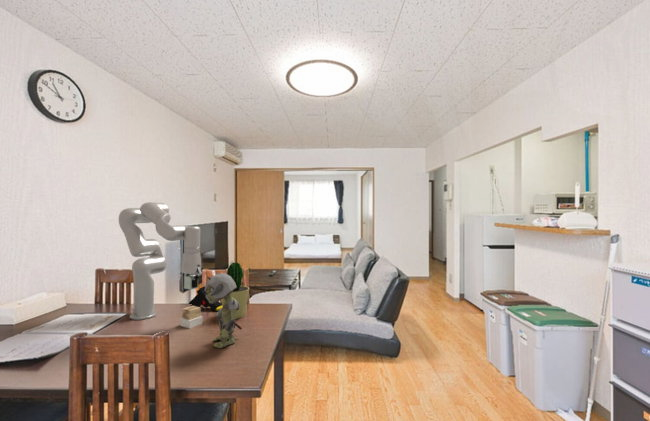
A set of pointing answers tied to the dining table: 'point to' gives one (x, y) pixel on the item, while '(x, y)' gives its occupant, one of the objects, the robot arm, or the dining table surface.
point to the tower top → (191, 312)
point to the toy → (217, 290)
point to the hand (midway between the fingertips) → (191, 286)
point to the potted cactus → (238, 289)
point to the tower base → (191, 322)
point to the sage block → (188, 282)
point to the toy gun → (204, 300)
